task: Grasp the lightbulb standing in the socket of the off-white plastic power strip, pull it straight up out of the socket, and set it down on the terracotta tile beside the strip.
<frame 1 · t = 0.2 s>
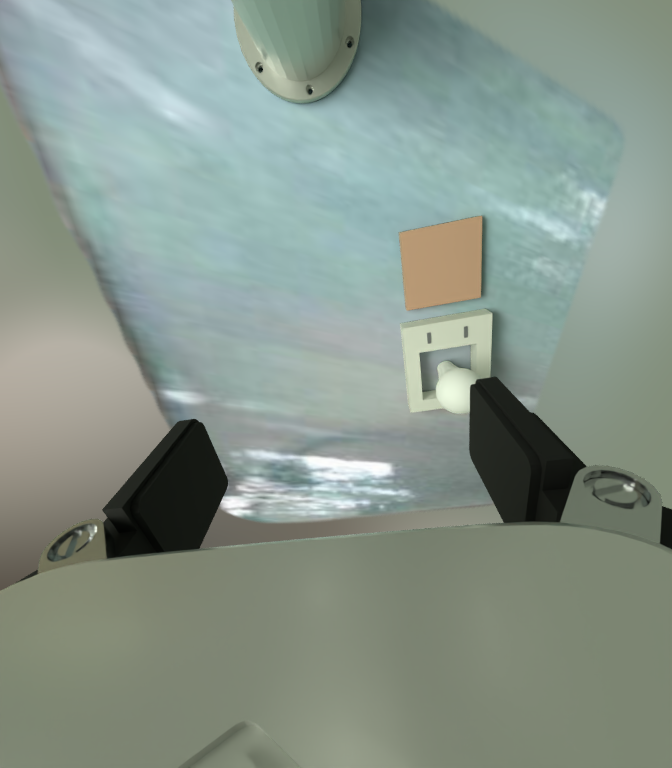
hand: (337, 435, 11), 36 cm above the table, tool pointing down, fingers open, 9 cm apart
tile: (440, 265, 42), on the table
lightbulb: (443, 365, 49), resting in socket strip
socket strip: (443, 360, 49), on the table
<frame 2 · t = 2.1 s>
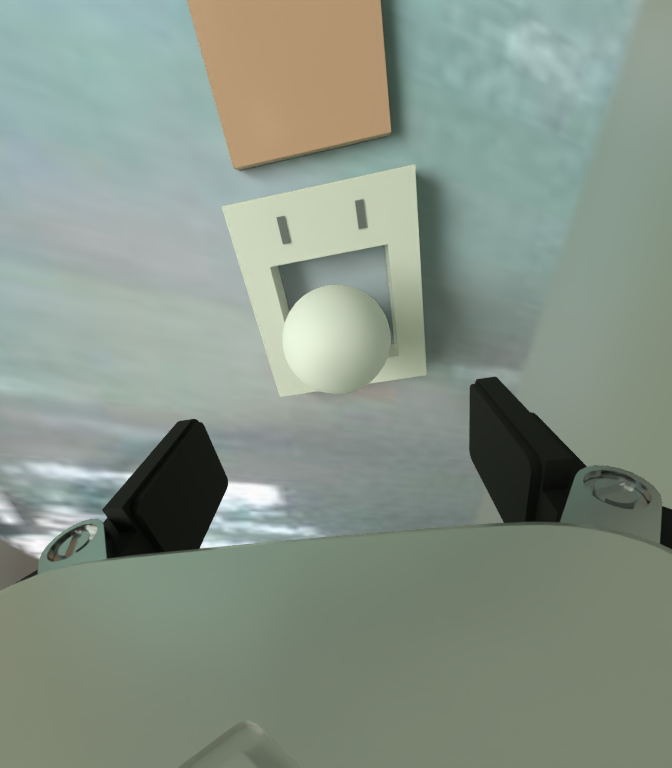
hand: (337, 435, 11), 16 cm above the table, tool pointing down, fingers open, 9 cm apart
tile: (293, 48, 18), on the table
lightbulb: (339, 304, 25), resting in socket strip
socket strip: (336, 292, 25), on the table
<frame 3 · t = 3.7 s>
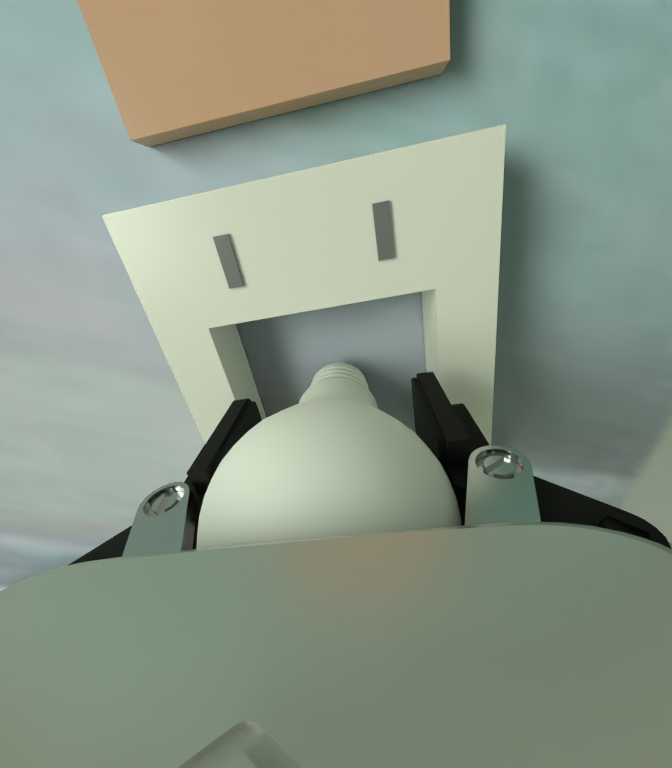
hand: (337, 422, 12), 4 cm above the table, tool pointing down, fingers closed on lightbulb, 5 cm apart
lightbulb: (340, 378, 15), resting in socket strip, touching gripper
socket strip: (335, 360, 14), on the table
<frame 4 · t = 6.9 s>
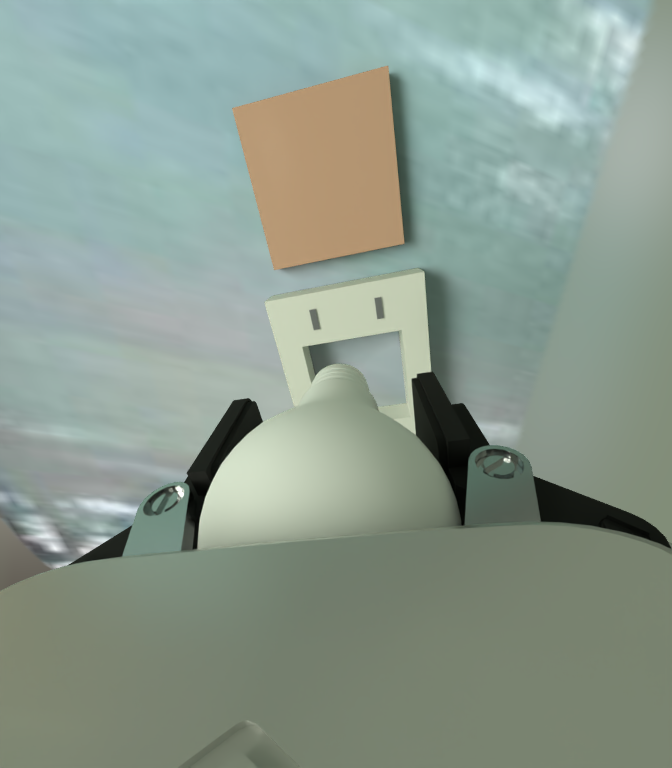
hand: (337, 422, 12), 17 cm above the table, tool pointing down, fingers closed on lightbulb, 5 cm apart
tile: (325, 182, 23), on the table
lightbulb: (340, 379, 15), point 13 cm above the table, touching gripper
socket strip: (356, 361, 29), on the table
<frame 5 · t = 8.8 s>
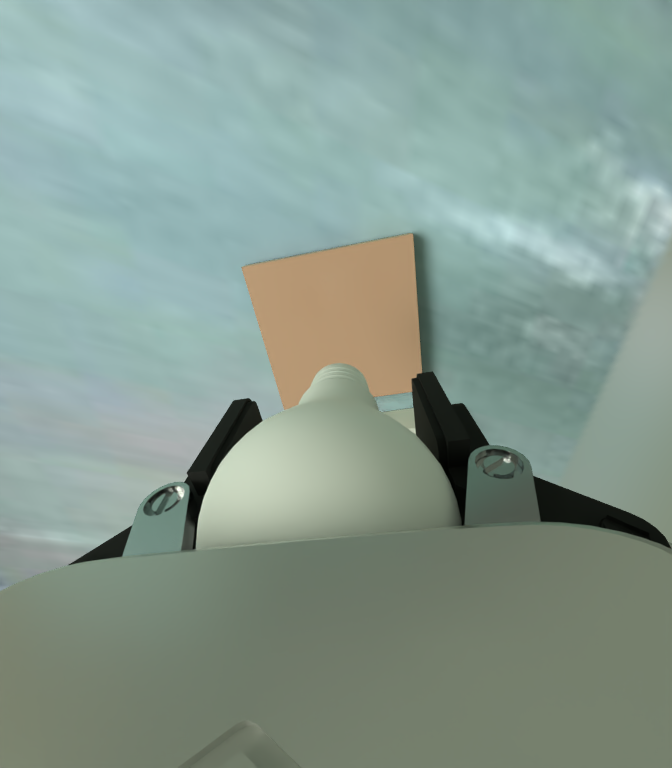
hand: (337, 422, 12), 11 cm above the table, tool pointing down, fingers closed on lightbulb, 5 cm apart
tile: (340, 328, 21), on the table
lightbulb: (340, 378, 15), point 7 cm above the table, touching gripper
socket strip: (368, 482, 28), on the table
when the fingers open (6 cm above the table, at t = 10.1 s): lightbulb drops 1 cm, resting on tile.
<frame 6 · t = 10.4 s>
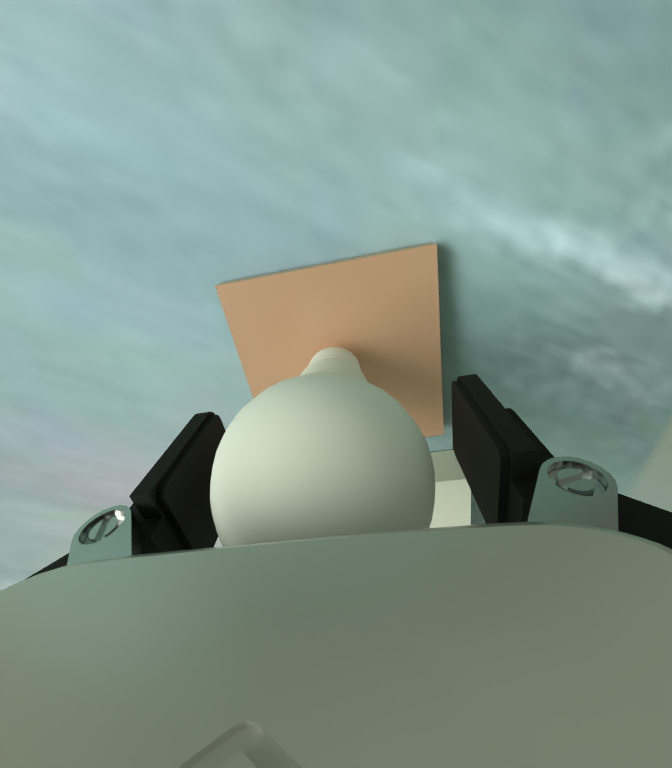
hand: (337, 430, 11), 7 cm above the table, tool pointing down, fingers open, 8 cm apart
tile: (341, 360, 17), on the table
lightbulb: (335, 362, 16), point 1 cm above the table, touching tile
socket strip: (374, 534, 23), on the table
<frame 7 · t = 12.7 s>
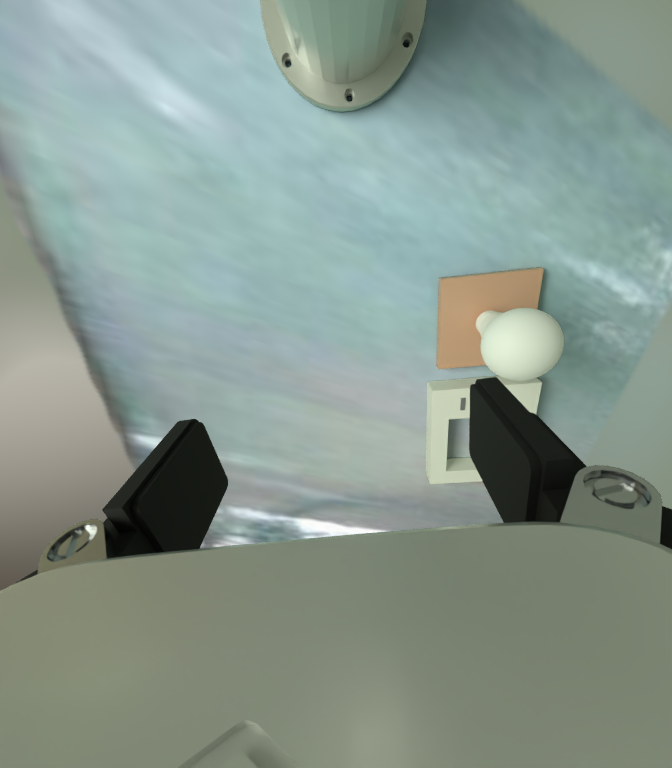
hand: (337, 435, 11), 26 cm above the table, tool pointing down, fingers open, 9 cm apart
tile: (483, 320, 35), on the table
lightbulb: (484, 319, 34), point 1 cm above the table, touching tile
socket strip: (473, 426, 41), on the table
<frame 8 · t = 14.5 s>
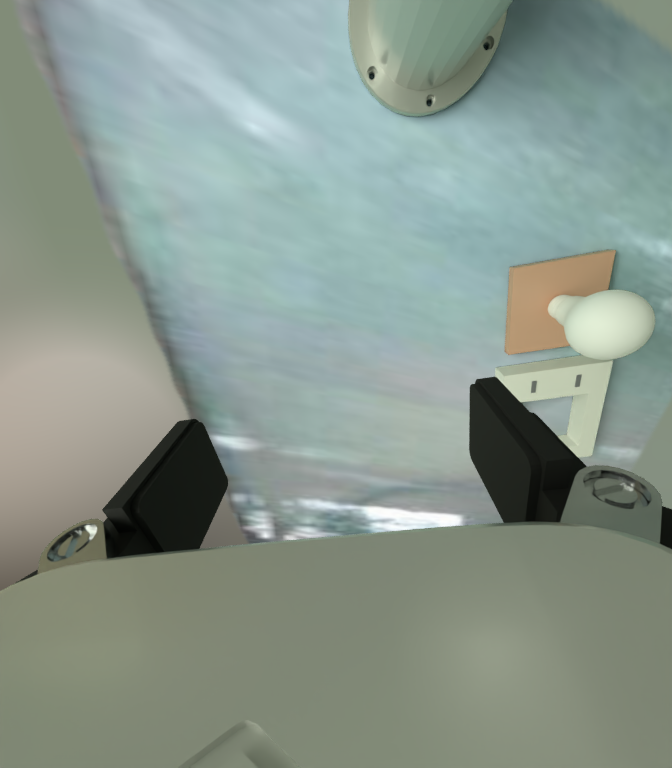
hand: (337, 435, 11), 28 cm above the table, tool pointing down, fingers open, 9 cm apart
tile: (552, 304, 36), on the table
lightbulb: (554, 304, 35), point 1 cm above the table, touching tile
socket strip: (540, 408, 42), on the table
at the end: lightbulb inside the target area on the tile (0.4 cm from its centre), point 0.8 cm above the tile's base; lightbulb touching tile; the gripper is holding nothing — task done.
